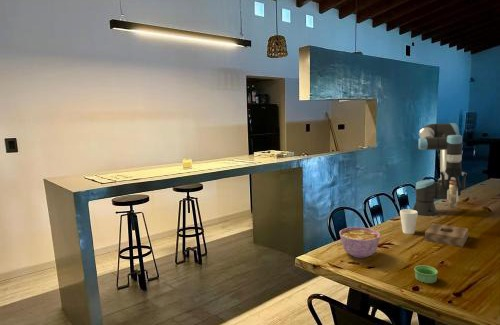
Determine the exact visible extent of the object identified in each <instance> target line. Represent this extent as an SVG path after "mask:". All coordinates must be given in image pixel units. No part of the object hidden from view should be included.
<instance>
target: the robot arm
mask: <svg viewBox="0 0 500 325" xmlns="http://www.w3.org/2000/svg"><path fill="white" fill-rule="evenodd" d="M418 136H419V138H418V150H420V151H434V150H435V151H437V150H438V151H440V152H439V160H440V161H439V162H440V164H439V168H440V169H439V170H440V173H439V174H440V178H438V179H437V182H435V180H434V179H423V180H419V181H417V182H416V183H415V202H414V205H413V207H412V210H415V211H417V212H418V215H419V216H430V217H431V216H436V215H437V214H438V213H437V211H438V210H437V207H436V205H435V200H446V201H448V202H449V182H450V180H456V183H457V191H456V202H459V197H461V194H462V191H464V190H465V187H466V177H467V175H468V173H467V172H465V171H463V169H462V160H463V158H462V157H463V156H462V155H463V153H462V152H463V151H462V150H463V136H462V135H461V134H460V129H459V126H458V124H457V123H455V122H444V123H443V122H442V123H430V124H426V125H424V126H423V127H421V128H420V130H419V131H418ZM459 176H462V181H461V182H460V177H459Z"/></svg>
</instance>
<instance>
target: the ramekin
mask: <svg viewBox="0 0 500 325" xmlns="http://www.w3.org/2000/svg"><path fill="white" fill-rule="evenodd" d="M438 273H439V272H438V270H437V269H436V268H435V267H433V266H430V265H424V264H423V265H420V264H419V265H416V266H415V267H414V277H415V279H416V280H417V281H418V280H419V282H420V281H421V282H420V283H423V282H424V283H423V284H429V283H430V284H435V283H436V282H437V277H438ZM434 282H435V283H434Z"/></svg>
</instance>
